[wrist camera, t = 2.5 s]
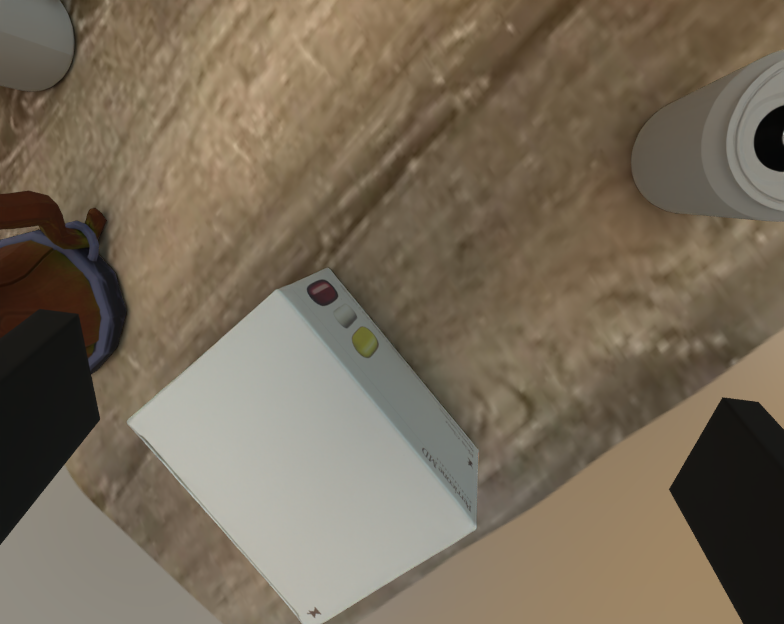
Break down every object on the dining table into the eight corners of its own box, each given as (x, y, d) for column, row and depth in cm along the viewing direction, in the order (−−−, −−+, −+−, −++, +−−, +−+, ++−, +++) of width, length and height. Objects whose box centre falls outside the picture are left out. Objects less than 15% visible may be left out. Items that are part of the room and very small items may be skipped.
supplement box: (483, 447, 36) (483, 532, 27) (347, 536, 39) (307, 637, 30) (329, 261, 35) (274, 285, 26) (204, 370, 38) (118, 424, 29)
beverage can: (619, 115, 30) (705, 64, 18) (741, 84, 28) (919, 8, 17) (634, 223, 31) (724, 240, 19) (752, 198, 29) (925, 201, 18)
